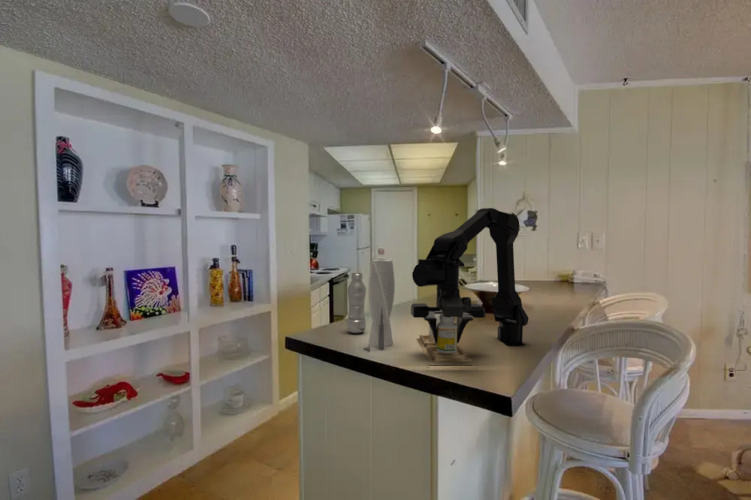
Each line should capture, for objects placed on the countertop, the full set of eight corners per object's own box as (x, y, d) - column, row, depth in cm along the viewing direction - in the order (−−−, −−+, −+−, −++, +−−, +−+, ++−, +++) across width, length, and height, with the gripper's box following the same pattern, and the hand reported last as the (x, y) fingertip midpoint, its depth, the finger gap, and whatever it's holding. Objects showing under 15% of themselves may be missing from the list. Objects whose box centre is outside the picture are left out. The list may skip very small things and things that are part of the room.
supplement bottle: (450, 355, 101) (451, 318, 101) (432, 351, 105) (433, 315, 104) (460, 350, 105) (461, 315, 105) (443, 347, 109) (443, 312, 108)
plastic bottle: (344, 334, 130) (345, 274, 130) (349, 330, 137) (349, 272, 136) (363, 335, 129) (364, 274, 128) (367, 331, 136) (368, 272, 135)
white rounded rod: (443, 340, 120) (444, 307, 119) (447, 345, 115) (447, 310, 114) (427, 340, 119) (428, 307, 119) (430, 345, 115) (431, 310, 114)
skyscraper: (359, 348, 114) (361, 251, 113) (378, 343, 120) (380, 251, 119) (381, 354, 108) (383, 252, 108) (400, 349, 114) (401, 252, 113)
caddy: (451, 342, 122) (451, 334, 122) (472, 365, 100) (472, 356, 100) (416, 342, 122) (416, 334, 122) (428, 365, 100) (429, 356, 100)
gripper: (417, 288, 96) (416, 351, 97) (493, 288, 97) (491, 351, 97) (410, 282, 107) (410, 339, 108) (479, 282, 108) (478, 339, 108)
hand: (446, 342), depth 105 cm, fingers closed on supplement bottle, 5 cm apart
